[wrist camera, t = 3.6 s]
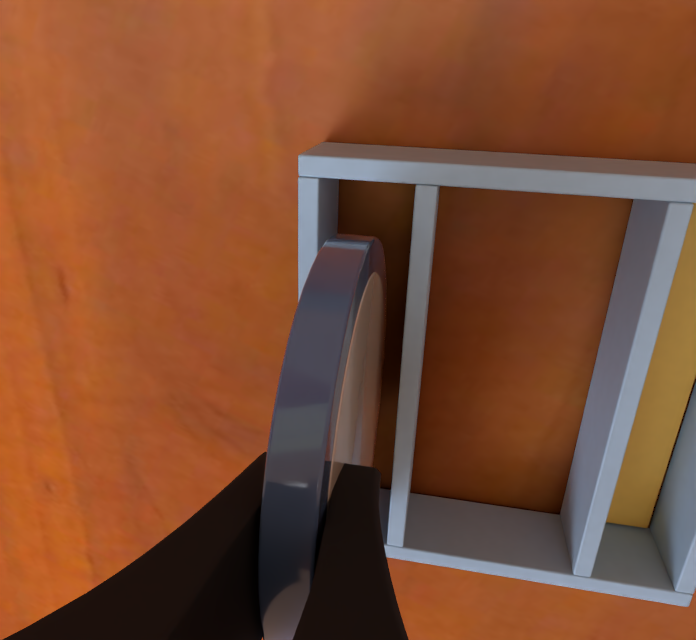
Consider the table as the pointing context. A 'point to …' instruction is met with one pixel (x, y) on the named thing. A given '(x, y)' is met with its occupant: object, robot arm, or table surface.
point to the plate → (320, 418)
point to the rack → (604, 393)
